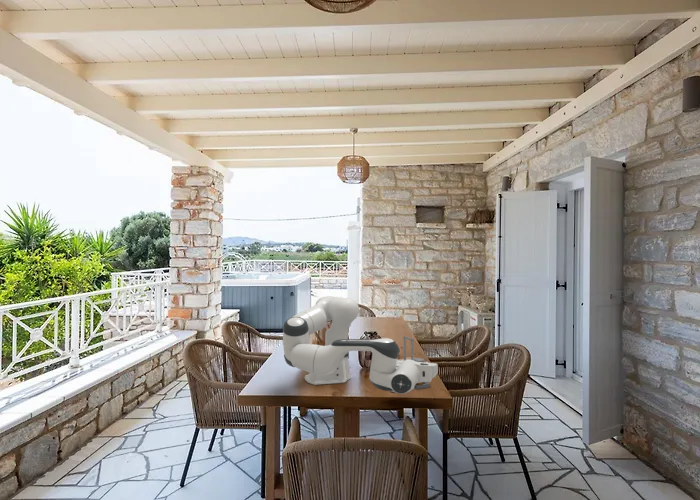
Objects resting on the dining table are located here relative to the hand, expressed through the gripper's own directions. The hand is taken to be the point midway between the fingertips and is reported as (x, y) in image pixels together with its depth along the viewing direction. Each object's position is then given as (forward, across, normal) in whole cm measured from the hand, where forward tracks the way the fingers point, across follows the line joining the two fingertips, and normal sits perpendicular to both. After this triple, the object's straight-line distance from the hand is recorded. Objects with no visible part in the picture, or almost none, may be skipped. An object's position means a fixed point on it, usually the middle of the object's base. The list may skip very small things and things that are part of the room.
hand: (415, 362), depth 169 cm
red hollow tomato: (+62, -25, -14) cm, 69 cm away
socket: (+12, -1, -14) cm, 19 cm away
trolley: (+22, -12, -14) cm, 28 cm away
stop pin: (+12, -1, -14) cm, 19 cm away
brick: (+39, -12, -14) cm, 43 cm away
